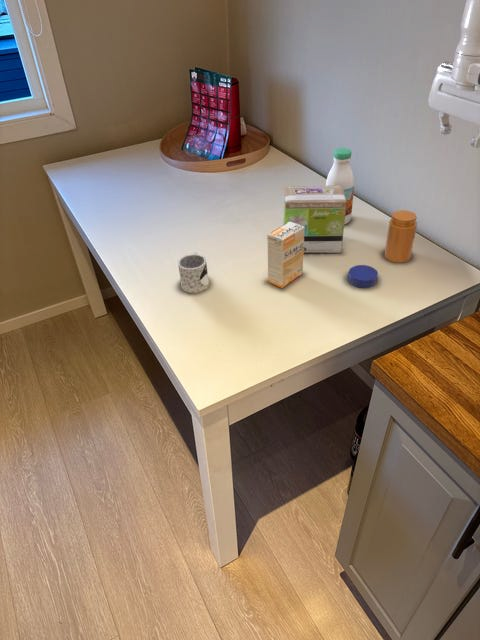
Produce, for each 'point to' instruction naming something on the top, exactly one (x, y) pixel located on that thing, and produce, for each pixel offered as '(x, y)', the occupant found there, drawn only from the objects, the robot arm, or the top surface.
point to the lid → (362, 276)
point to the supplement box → (285, 254)
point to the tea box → (317, 215)
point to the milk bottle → (343, 178)
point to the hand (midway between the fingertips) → (459, 139)
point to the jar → (401, 236)
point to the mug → (193, 273)
